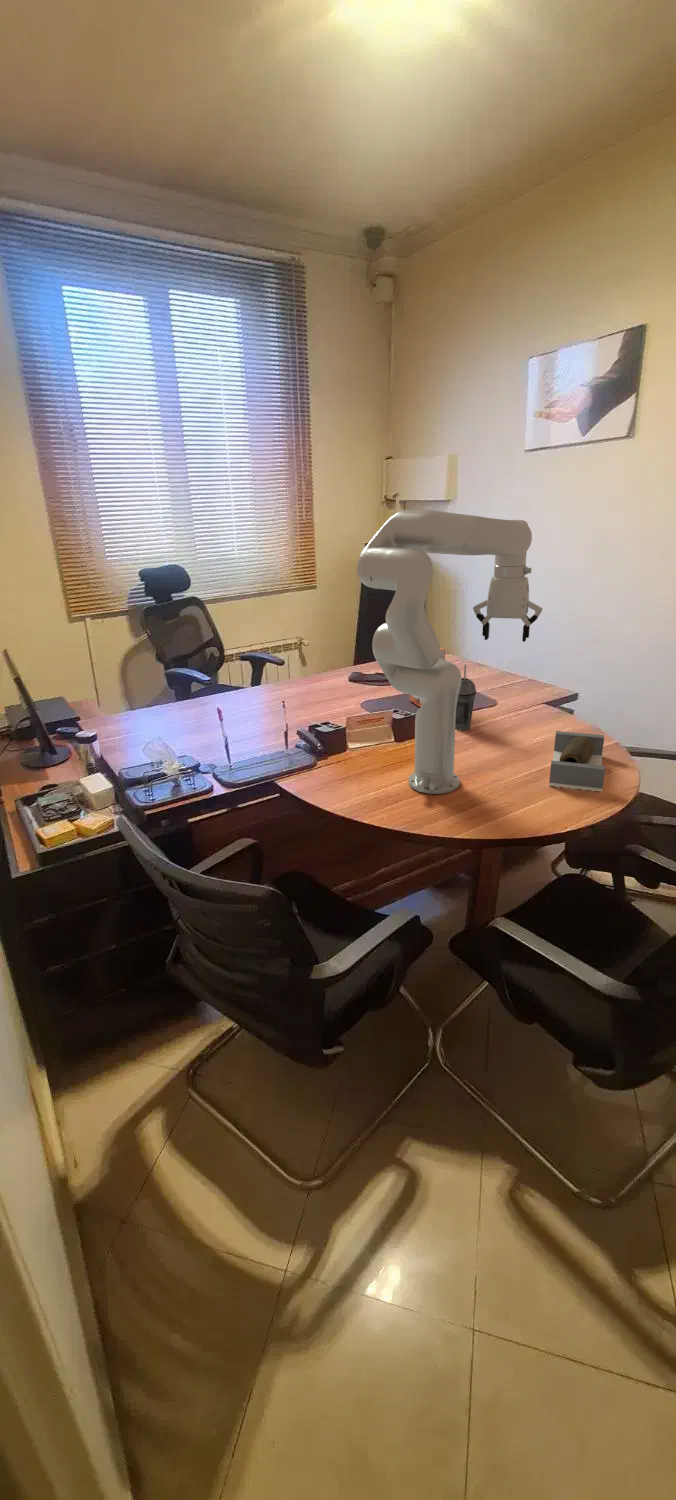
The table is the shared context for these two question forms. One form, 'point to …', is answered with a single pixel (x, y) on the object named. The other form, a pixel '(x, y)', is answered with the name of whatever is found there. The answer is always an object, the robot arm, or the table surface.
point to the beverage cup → (465, 703)
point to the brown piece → (578, 751)
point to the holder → (577, 765)
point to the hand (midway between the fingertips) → (505, 639)
